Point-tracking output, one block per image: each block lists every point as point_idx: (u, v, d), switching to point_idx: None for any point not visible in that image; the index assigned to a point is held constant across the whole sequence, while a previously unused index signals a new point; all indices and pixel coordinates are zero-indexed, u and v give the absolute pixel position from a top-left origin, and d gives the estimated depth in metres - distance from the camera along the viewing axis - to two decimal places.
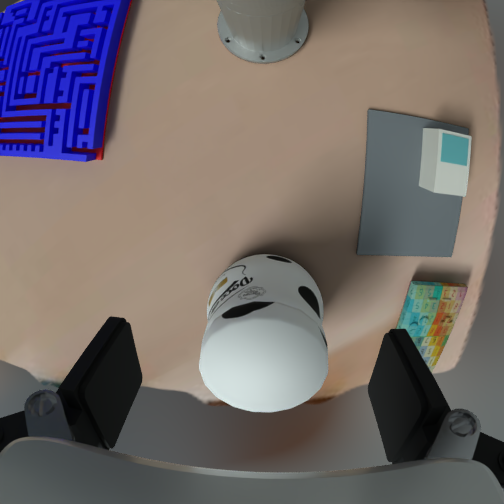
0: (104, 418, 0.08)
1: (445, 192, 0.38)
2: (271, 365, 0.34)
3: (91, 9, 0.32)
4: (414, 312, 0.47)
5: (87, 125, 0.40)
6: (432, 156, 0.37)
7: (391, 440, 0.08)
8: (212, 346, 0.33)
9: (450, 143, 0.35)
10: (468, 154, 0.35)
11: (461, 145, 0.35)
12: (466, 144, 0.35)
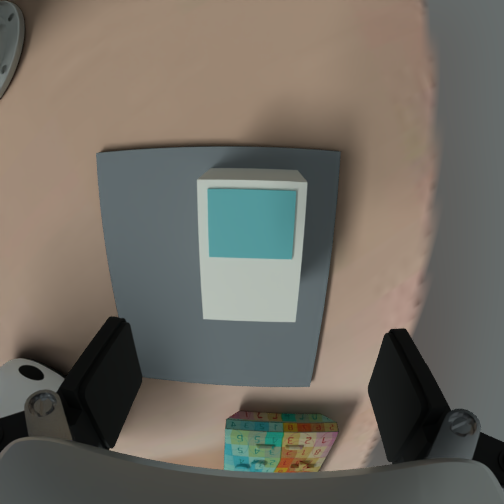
0: (104, 418, 0.08)
1: (234, 317, 0.20)
2: None
3: None
4: (237, 455, 0.30)
5: None
6: None
7: (391, 440, 0.08)
8: None
9: (236, 211, 0.17)
10: (297, 230, 0.18)
11: (270, 211, 0.17)
12: (290, 206, 0.17)
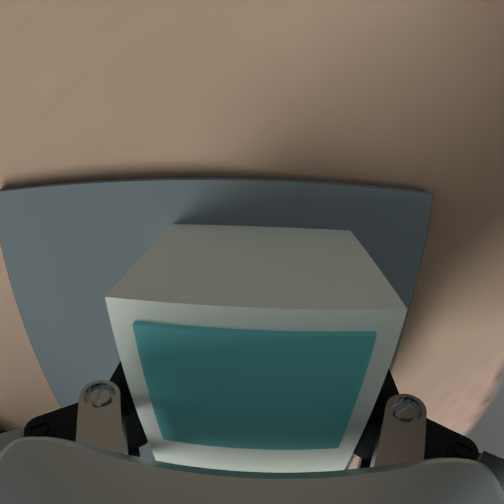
0: None
1: None
2: None
3: None
4: None
5: None
6: None
7: None
8: None
9: (213, 375, 0.06)
10: (359, 406, 0.07)
11: (303, 380, 0.06)
12: (355, 365, 0.06)
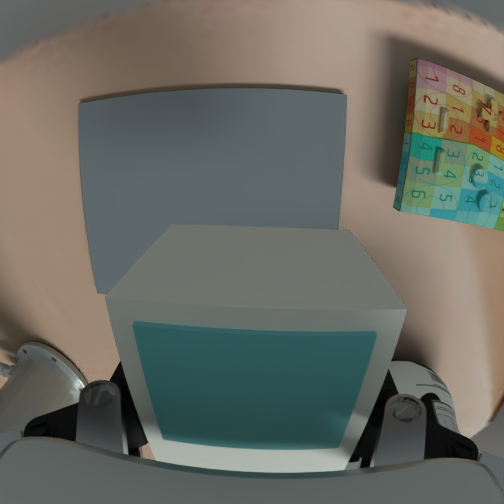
0: None
1: None
2: None
3: None
4: (458, 203, 0.20)
5: None
6: None
7: None
8: None
9: (213, 375, 0.06)
10: (359, 406, 0.07)
11: (303, 380, 0.06)
12: (354, 365, 0.06)
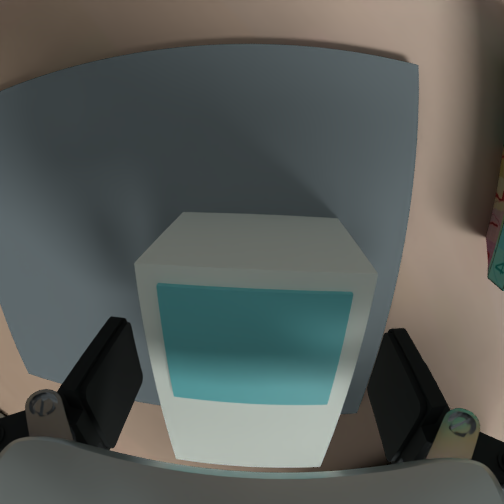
0: (105, 418, 0.08)
1: (224, 462, 0.11)
2: None
3: None
4: None
5: None
6: None
7: (390, 439, 0.08)
8: None
9: (220, 329, 0.08)
10: (343, 362, 0.08)
11: (294, 333, 0.08)
12: (337, 321, 0.08)
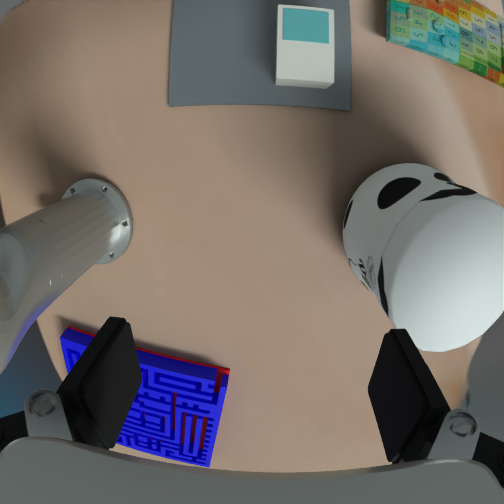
0: (104, 418, 0.08)
1: (296, 77, 0.29)
2: (458, 274, 0.22)
3: None
4: (427, 39, 0.27)
5: (194, 380, 0.48)
6: None
7: (391, 440, 0.08)
8: (416, 339, 0.25)
9: (298, 19, 0.26)
10: (330, 30, 0.26)
11: (316, 19, 0.26)
12: (326, 19, 0.26)
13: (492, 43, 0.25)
